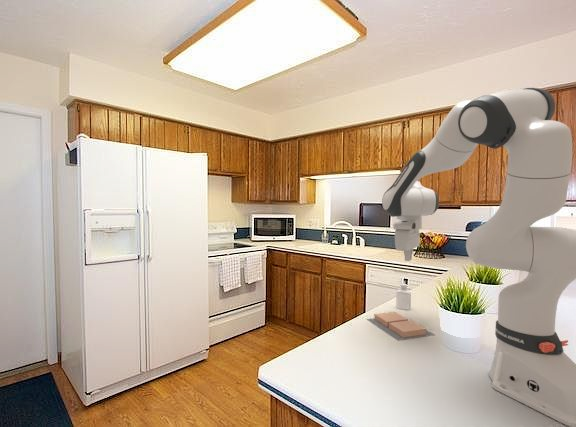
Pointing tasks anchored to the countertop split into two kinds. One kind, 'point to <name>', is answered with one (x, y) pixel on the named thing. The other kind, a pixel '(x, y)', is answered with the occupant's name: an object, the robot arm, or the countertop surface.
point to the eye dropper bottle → (403, 298)
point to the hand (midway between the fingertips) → (408, 260)
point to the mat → (392, 333)
